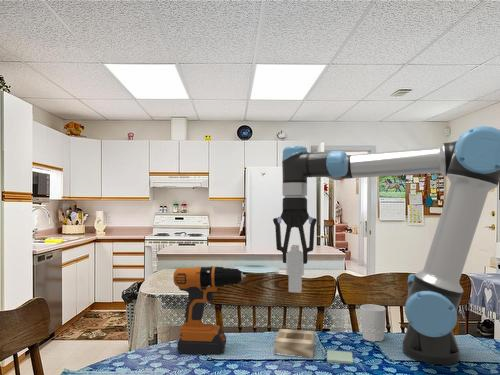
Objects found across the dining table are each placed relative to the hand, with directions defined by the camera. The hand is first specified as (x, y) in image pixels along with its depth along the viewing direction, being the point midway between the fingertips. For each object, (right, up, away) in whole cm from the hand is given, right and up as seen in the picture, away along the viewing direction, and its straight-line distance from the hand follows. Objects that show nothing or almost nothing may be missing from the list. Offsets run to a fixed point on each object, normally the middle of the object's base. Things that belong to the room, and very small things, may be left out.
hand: (295, 274), depth 115 cm
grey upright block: (0, -5, 0) cm, 5 cm away
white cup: (+27, -23, +9) cm, 36 cm away
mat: (+12, -22, -7) cm, 26 cm away
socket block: (0, -23, -1) cm, 22 cm away
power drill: (-26, -23, -1) cm, 34 cm away
